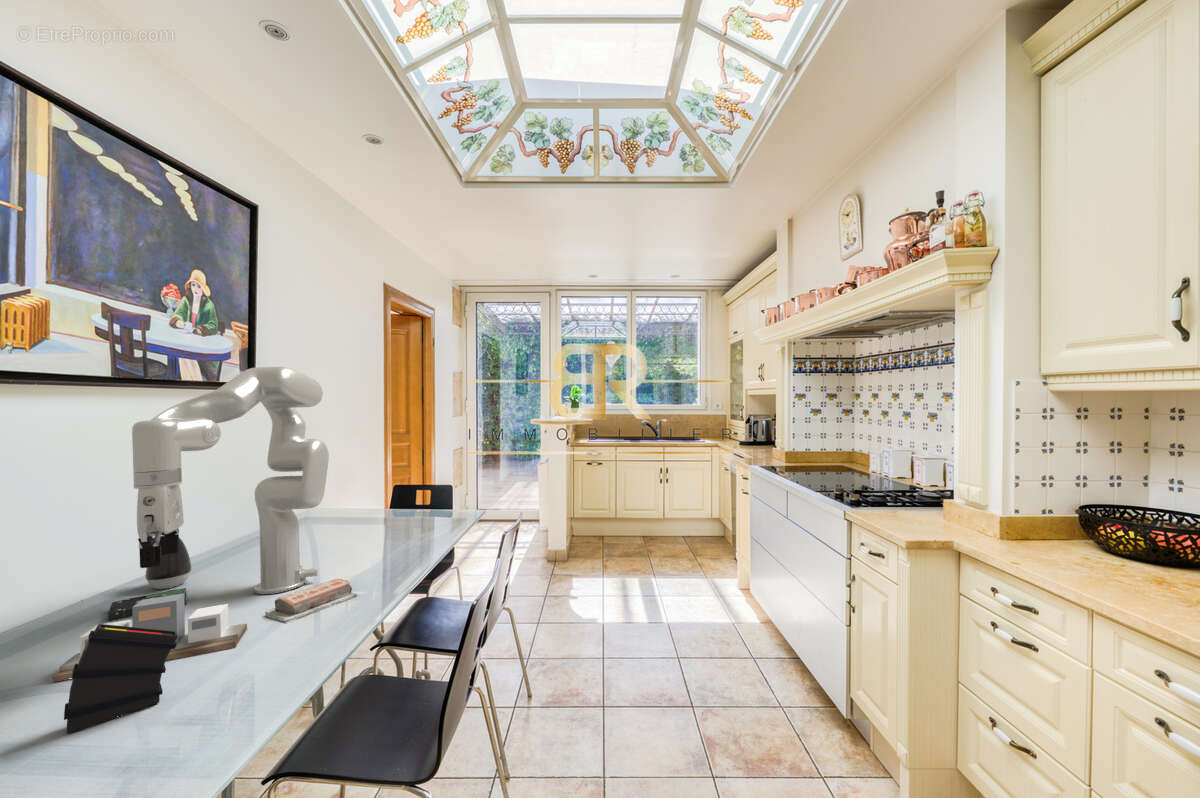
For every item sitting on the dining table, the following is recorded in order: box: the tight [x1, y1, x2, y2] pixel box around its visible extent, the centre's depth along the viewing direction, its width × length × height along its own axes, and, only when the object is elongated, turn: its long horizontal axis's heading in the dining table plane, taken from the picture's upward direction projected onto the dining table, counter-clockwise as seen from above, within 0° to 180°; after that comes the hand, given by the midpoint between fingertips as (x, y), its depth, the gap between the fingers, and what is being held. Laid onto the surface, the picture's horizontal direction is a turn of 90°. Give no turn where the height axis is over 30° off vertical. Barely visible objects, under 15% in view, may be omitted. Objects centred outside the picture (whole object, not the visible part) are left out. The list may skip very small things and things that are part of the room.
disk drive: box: [107, 587, 187, 622], centre depth 127 cm, size 10×3×15 cm
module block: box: [132, 594, 186, 644], centre depth 101 cm, size 7×5×9 cm
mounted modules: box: [79, 603, 230, 658], centre depth 101 cm, size 22×6×5 cm, turn 115°
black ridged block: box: [63, 623, 178, 735], centre depth 80 cm, size 4×13×15 cm, turn 136°
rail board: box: [52, 623, 248, 683], centre depth 101 cm, size 28×10×2 cm, turn 115°
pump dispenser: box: [144, 537, 192, 590], centre depth 144 cm, size 10×10×15 cm
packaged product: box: [264, 578, 358, 623], centre depth 124 cm, size 18×5×10 cm
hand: (160, 559), depth 102 cm, fingers open, 9 cm apart
